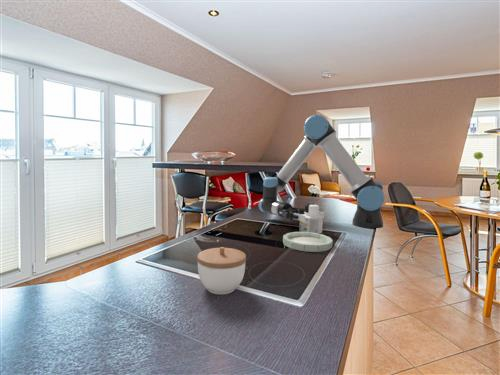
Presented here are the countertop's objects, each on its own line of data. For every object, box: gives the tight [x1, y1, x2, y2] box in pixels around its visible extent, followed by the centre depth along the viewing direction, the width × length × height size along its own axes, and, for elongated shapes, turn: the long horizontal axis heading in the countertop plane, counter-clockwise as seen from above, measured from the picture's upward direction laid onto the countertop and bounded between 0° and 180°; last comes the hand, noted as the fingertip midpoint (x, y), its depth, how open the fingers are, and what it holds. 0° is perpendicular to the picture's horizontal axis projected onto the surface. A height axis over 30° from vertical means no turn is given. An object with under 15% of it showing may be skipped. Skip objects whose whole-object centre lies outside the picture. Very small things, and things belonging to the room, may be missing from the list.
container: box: [298, 203, 324, 234], centre depth 142 cm, size 8×8×13 cm
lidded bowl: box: [196, 246, 247, 296], centre depth 80 cm, size 13×13×11 cm
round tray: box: [282, 231, 334, 253], centre depth 123 cm, size 19×19×2 cm
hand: (314, 217), depth 140 cm, fingers open, 13 cm apart
